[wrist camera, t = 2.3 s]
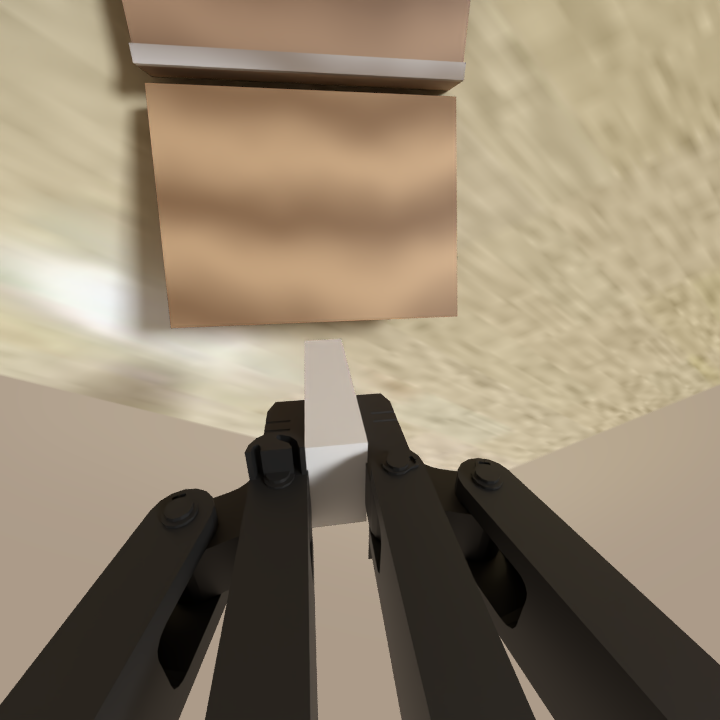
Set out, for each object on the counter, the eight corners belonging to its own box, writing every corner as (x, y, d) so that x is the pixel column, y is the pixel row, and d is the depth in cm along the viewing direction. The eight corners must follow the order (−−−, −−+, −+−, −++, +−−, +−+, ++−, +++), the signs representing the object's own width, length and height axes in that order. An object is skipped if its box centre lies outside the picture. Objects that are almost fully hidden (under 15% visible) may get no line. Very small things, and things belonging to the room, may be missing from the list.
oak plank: (161, 105, 20) (144, 82, 18) (443, 116, 23) (455, 96, 21) (183, 327, 22) (170, 328, 20) (445, 316, 24) (457, 316, 22)
